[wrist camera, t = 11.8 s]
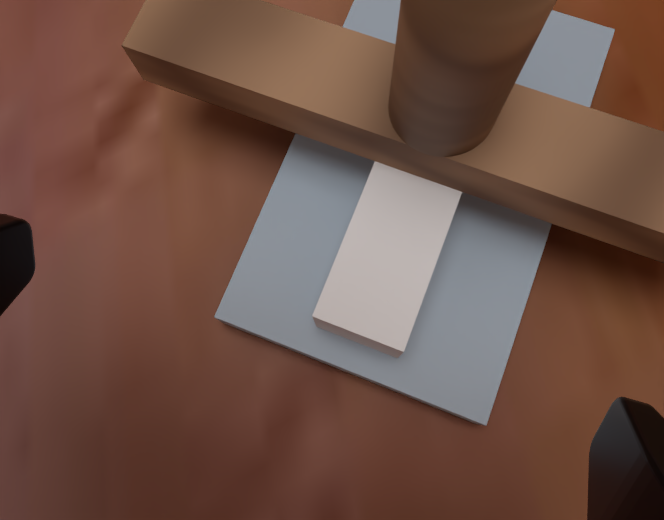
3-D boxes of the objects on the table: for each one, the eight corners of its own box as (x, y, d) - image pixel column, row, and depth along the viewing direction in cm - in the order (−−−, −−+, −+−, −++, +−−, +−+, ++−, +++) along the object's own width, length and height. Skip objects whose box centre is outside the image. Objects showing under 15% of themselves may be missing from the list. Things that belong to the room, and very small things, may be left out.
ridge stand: (477, 424, 21) (505, 428, 17) (223, 322, 22) (195, 305, 19) (599, 51, 25) (645, -15, 21) (373, -20, 26) (376, -95, 22)
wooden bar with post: (750, 196, 19) (1401, -148, 7) (727, 288, 18) (1404, 76, 6) (181, 6, 21) (-29, -485, 9) (142, 82, 20) (-135, -346, 9)
